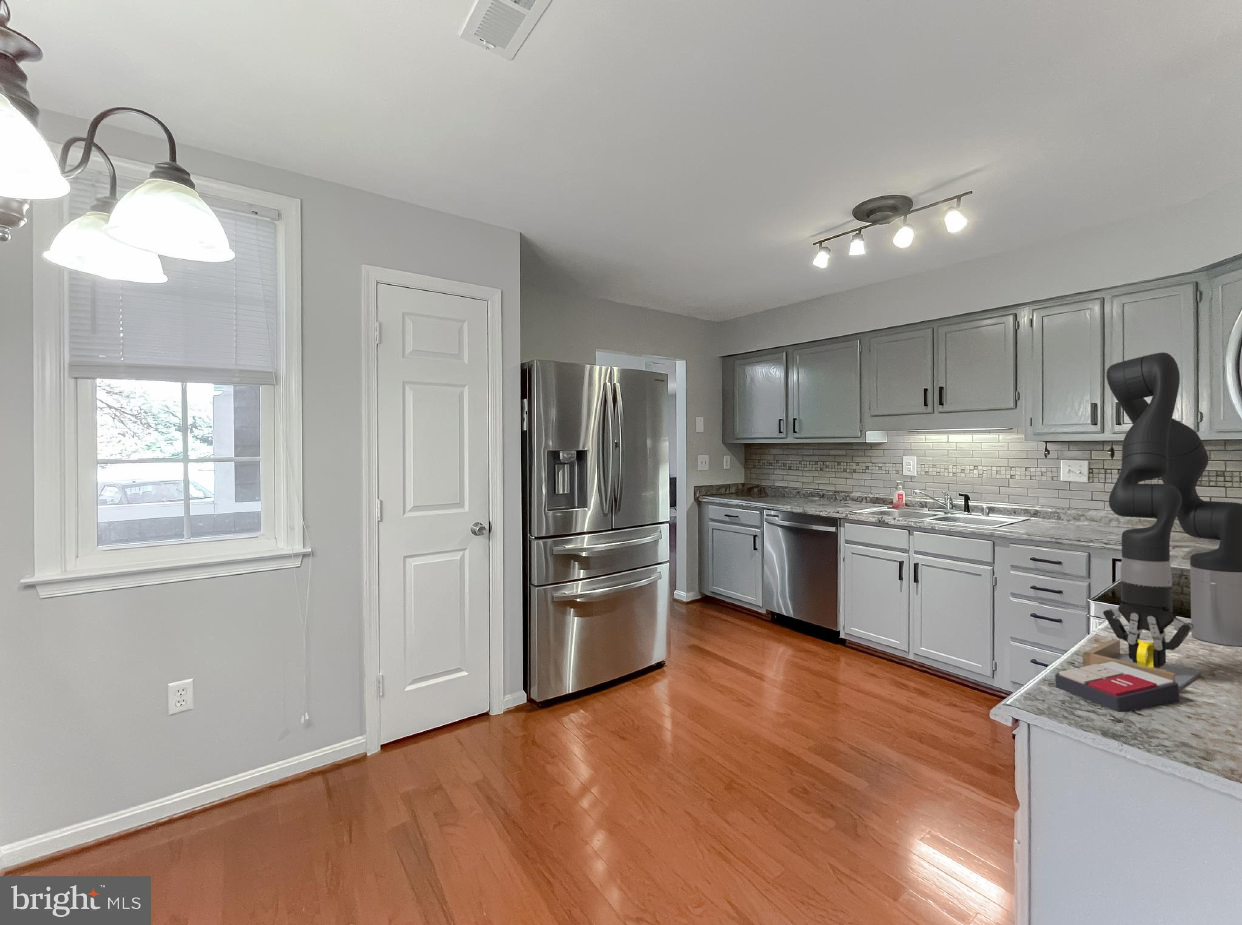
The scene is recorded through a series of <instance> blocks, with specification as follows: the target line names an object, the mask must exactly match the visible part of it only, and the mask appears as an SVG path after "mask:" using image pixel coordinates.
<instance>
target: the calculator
mask: <svg viewBox="0 0 1242 925" xmlns="http://www.w3.org/2000/svg"><path fill="white" fill-rule="evenodd" d="M1054 678H1055V688H1056V689H1059V690H1062V691H1064V692H1066V693H1070V694H1072V695H1073V696H1076V697H1079V698H1082V699H1083V700H1086V701H1088V702H1092V703H1095V704H1096V705H1100V706H1101V707H1104V708H1107V709H1109V710H1111V711H1114V712H1118V713H1122V712H1129V711H1134V710H1140V709H1145V708H1149V707H1153V706H1158V705H1169V704H1175V703H1179V702H1180V694H1179V693H1180V692H1179V691H1180V690H1178V683H1176V682H1173V681H1172V680H1169V679H1166V678H1163V677H1160V676H1157V675H1153V674H1150V673H1147V672H1144V671H1141V670H1138V669H1135V668H1132V667H1128V666H1125V665H1122V664H1119V663H1116V662H1107V663H1103V664H1094V665H1089V666H1084V667H1083V666H1082V667H1081V666H1080V667H1079V668H1071V669H1066V670H1062V671H1059V673H1055V674H1054Z"/></svg>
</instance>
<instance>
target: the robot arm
mask: <svg viewBox="0 0 1242 925" xmlns="http://www.w3.org/2000/svg"><path fill="white" fill-rule="evenodd" d="M1178 366H1179V365H1178V364H1177V361H1176V360H1175V358H1174V356H1172V355H1171V354H1170V353H1168V352H1157V353H1156V352H1155V353H1151V354H1147V355H1143V356H1139V357H1135V358H1130V359H1128V360H1124V361H1123V360H1122V361H1119V362H1116V363H1114V364H1113V363H1112V365H1110V366H1109V367H1108V368H1107V370H1106V374H1105V375H1106V381H1107V385H1108V387H1109V389H1110V391H1111V393H1112V394H1113V396H1114V398H1115V399H1116V401H1117V402H1118V404H1119V406H1120V407H1121V408H1122V410H1123V412H1124V413H1125V414H1126V417H1128V419H1129V421H1130V422H1131V424H1132V425H1131V426H1130V428H1129V429H1128V430H1127V431H1126V433H1125V435H1124V437H1123V441H1122V445H1121V446H1122V448H1121V450H1122V451H1121V467H1120V472H1119V474H1118V477H1117V478H1116V482H1115V483H1114V485H1113V487H1112V488H1111V491H1110V494H1109V498H1108V505H1109V508H1110V510H1111V511H1112V512H1113V513H1114V514H1115V515H1117V516H1119V517H1124V518H1143V519H1156V520H1155V523H1154V524H1152V525H1150V526H1147V527H1140V528H1139V527H1138V528H1128V529H1126V530H1123V531H1122V533H1121V562H1120V601H1121V602H1120V604H1119V605H1118V608H1108V609H1106V610H1104V611H1103V613H1102V614H1103V616H1104V618H1105V619H1106V620H1107V623H1108V624H1109V626H1110V628H1111V629H1112V631H1113V633H1114V634H1115V637H1116V639H1117V638H1118V640H1123V641H1125V642H1126V643H1127V644H1128V655H1129V658H1130V659H1132V660H1133V662H1134V663H1137V649H1138V646H1139V643H1138V642H1137V639H1139V638H1141V634H1142V632H1143V630H1144V631H1148V632H1150V635H1151V639H1152V640H1153V642H1154V647H1155V649H1153V667H1155V668H1160V667H1161V666H1163V665H1165V664H1166V663H1167V658H1166V657H1167V655H1166V652H1167V651H1168V650H1170V651H1175V650H1176V649H1178V648H1179V647H1180V645H1181V644H1182V643H1183V641H1184V640H1185V639H1186V638H1187V637H1188V635H1189V634H1190V633H1191V634H1190V635H1191V637H1193V638H1195V639H1198V640H1201V641H1204V642H1208V643H1212V644H1213V643H1214V644H1217V645H1222V646H1223V645H1224V646H1233V647H1242V503H1240V502H1234V501H1232V502H1229V501H1215V500H1214V501H1213V500H1211V501H1210V500H1203V499H1202V498H1200V495H1199V494H1198V492H1197V489H1196V488H1197V487H1196V486H1197V484H1198V482H1199V481H1200V479H1201V477H1202V475H1203V474H1204V472H1206V468H1207V467H1208V465H1209V459H1210V458H1209V454H1208V451H1207V450H1206V447H1205V446H1204V443H1203V441H1202V439H1201V437H1200V436H1199V434H1198V433H1197V432H1196V430H1194V429H1193V428H1191V427H1190V426H1188V425H1187V424H1185V423H1183V422H1181V421H1179V420H1177V419H1174V418H1173V416H1174V413H1175V408H1176V404H1177V399H1178V395H1179V391H1180V390H1179V388H1180V383H1181V382H1180V379H1181V377H1180V376H1181V375H1180V368H1179V367H1178ZM1150 397H1151V400H1150V402H1148V401H1147V399H1145V398H1150ZM1156 479H1161V481H1162V483H1142V482H1145V481H1151V480H1152V481H1153V480H1156ZM1176 519H1177V521H1178V523H1179V525H1180V527H1181V529H1182V531H1183V532H1184V533H1185V534H1187V535H1188V536H1190V537H1191V538H1192V537H1193V538H1196V539H1197V538H1198V539H1204V540H1212V541H1213V540H1214V541H1219V545H1218V547H1217V548H1215V549H1213V550H1210V551H1205V552H1196V553H1193V554H1191V556H1190V559H1189V565H1190V566H1189V569H1190V570H1189V572H1190V575H1189V576H1190V577H1189V578H1190V622H1185V621H1183V620H1181V619H1180V618H1178V617H1177V615H1176V614H1175V612H1174V609H1173V572H1172V567H1171V559H1170V558H1171V557H1170V556H1171V555H1170V550H1171V548H1170V542H1171V541H1170V540H1171V533H1172V530H1173V526H1174V523H1175V521H1176ZM1121 617H1123V618H1124V619H1125V620H1126V622H1127V623H1128V624H1129V625H1128V631H1127V629H1126V628H1125V627H1124V624H1123V623H1122V622H1121V620H1120V619H1121ZM1171 624H1173V625H1174V626H1173V629H1174V630H1175V631H1176V633H1175V634H1174V635H1172V636H1173V637H1172V638H1171V639H1170V640H1169V641H1167V640H1166V630H1165V629H1166V628H1168V627H1169V626H1171Z"/></svg>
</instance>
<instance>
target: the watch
mask: <svg viewBox="0 0 1242 925" xmlns="http://www.w3.org/2000/svg"><path fill="white" fill-rule="evenodd" d="M1137 642H1138V643H1139V646H1138V649H1137V663H1138V665H1142V666H1147V667H1151V668H1155V667H1153V649H1155V647H1154V642H1153V639H1150V638H1149V639H1148V638H1141V637H1140V638H1139V639H1137ZM1146 660H1147V661H1146Z"/></svg>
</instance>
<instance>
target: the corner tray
mask: <svg viewBox="0 0 1242 925" xmlns="http://www.w3.org/2000/svg"><path fill="white" fill-rule="evenodd" d="M1146 661H1147V659H1146ZM1107 662H1116V663H1119V664H1122V665H1125V666H1128V667H1132V668H1135V669H1138V670H1141V671H1144V672H1147V673H1150V674H1153V675H1157V676H1160V677H1163V678H1166V679H1169V680H1172V681H1173V682H1176V683H1178V690H1179V691H1180V690H1181V689H1183V688H1184V687H1186V685H1188V684H1190V683H1191V682H1192V681H1194V680H1195V679H1197V678H1198V677H1200V676H1201V672H1200V671H1198V670H1193V669H1190V668H1189V669H1188V668H1184V667H1180V666H1175V665H1172V664H1168V663H1167V664H1166V663H1165V665H1163V666H1161V667H1160V668H1151V667H1147V666H1142V665H1138V663H1134V662H1133V660H1132V659H1130V658H1129V654H1123V653H1121V639H1117V638H1111V639H1109V640H1107V641H1105V642H1103V643H1101V644H1098V645H1096V646H1095V647H1092V648H1090V649H1088V650H1085V651H1083V652H1082V667H1084V666H1089V665H1094V664H1103V663H1107Z"/></svg>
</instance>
